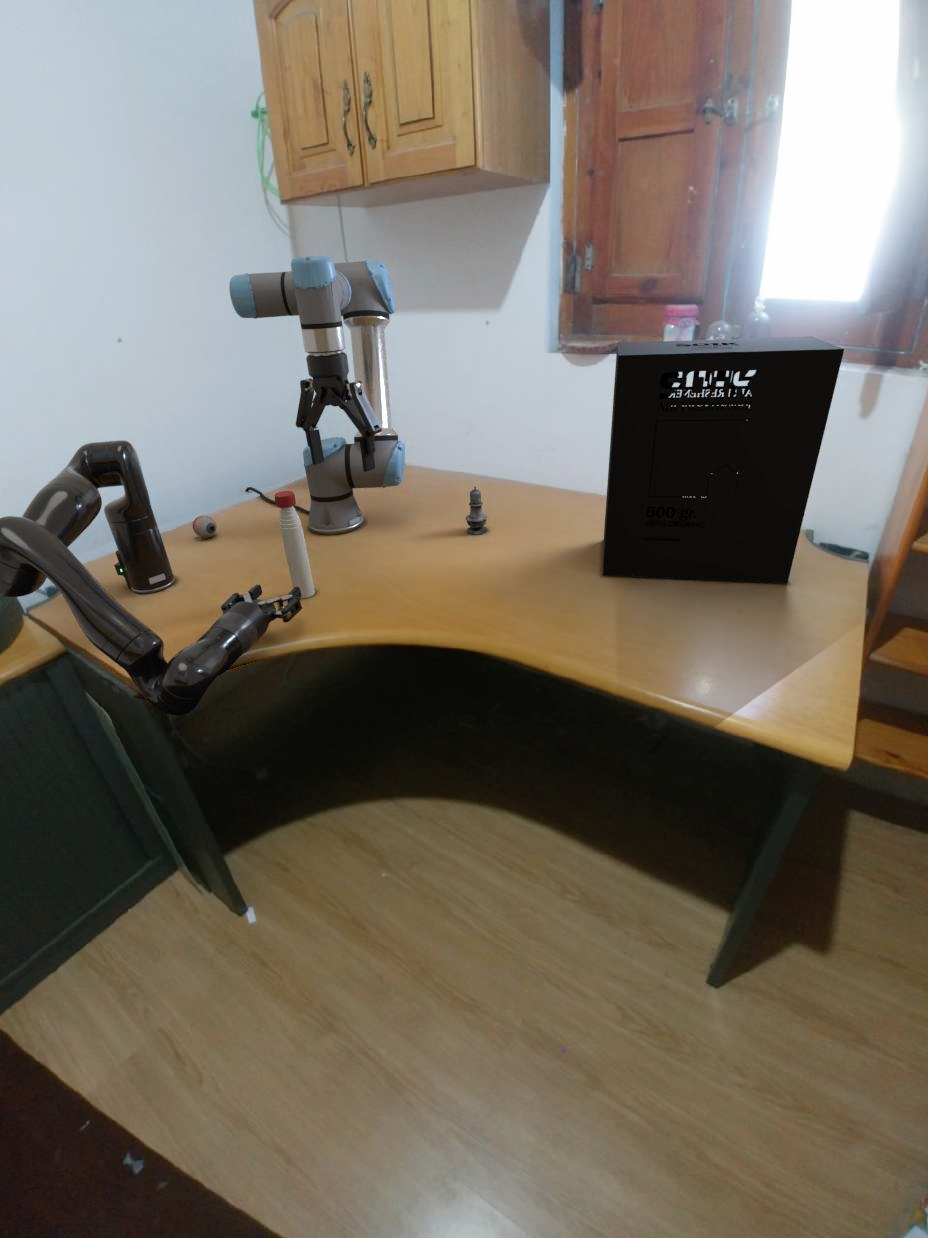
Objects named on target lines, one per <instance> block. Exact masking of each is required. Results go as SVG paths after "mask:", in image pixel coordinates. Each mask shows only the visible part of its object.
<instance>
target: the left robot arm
mask: <svg viewBox="0 0 928 1238" xmlns="http://www.w3.org/2000/svg"><path fill="white" fill-rule="evenodd" d="M139 458H140V457H139V455H138V453H137V450H136V449H135V447H134V445H133V444H132V443H131V442H130V441H128V440H126V439H125V440H123V439H120V440H119V439H118V440H105V441H95V442H88V443H86V444H83V445H81V446H80V447H79V448H78V449H77V450H76V451H75V453H74V454H73V455H72V458H71V459H70V460H69V462H68V463H67V465H66V466H65V467H64V468H63V469H62V470H60V472H59V473H58V474H57V475H56V476H55V477H54V478H53V479H51V480H50V481H49V482H48V483H47V484H45V485H44V486H43V487H42V488H41V489H40V490H39V491H38V492H37V493H36V494H35V496H34V497H33V498H32V500H31V501H30V503H29V504H28V506H27V507H26V509H25V511H24V512H23V514H22V516H17V515H8V516H7V515H6V516H2V517H0V597H5V598H19V597H25V596H28V595H31V594H33V593H35V592H36V591H38V590H39V589H41V587H42V586H43V585H44V584H45V582H46V581H47V579H48V580H49V581H50V582H51V583H52V584H53V585H54V586H55V587H56V589H57V590H58V591H59V593H60V594H61V596H62V597H63V599H64V601H65V602H66V603H67V605H68V607H69V609H70V611H71V612H72V614H73V617H74V618H75V621H76V622H77V624H78V626H79V627H80V629H81V631H82V632H83V634H84V635H85V637H86V638H87V639H88V640H89V642H90V643H91V644H92V645H93V646H94V647H95V648H96V649H98V651H100V652H101V653H102V654H104V655H105V656H106V657H108V658H109V659H110V660H112V661H113V662H114V663H115V664H117V665H118V666H119V667H120V668H122V669H123V670H124V671H125V672H126V673H127V674H128V676H129V677H130V679H131V681H132V682H133V683H134V684H135V686H136V687H137V688H138V690H139V691H140V692H141V693H142V694H143V696H144V697H145V698H146V700H148V702H149V703H151V705H152V706H153V707H154V708H156V709H157V710H159V711H161V712H163V713H165V714H168V715H171V716H185V715H187V714H189V713H191V712H192V711H193V710H194V709H195V708H196V707H197V706H198V705H199V703H200V701H201V700H202V698H203V696H204V695H205V694H206V692H207V690H208V689H209V688H210V686H211V685H212V683H213V682H214V681H215V679H217V677H218V676H221V675H223V674H224V673H226V672H227V671H228V670H229V669H230V668H231V667H232V666H233V665H234V664H235V663H236V662H237V661H238V660H239V659H240V658H241V657H242V656H243V655H245V654H246V653H247V652H248V651H250V649H251V648H252V647H253V646H254V645H255V644H256V643H257V642H258V641H259V640H260V639H261V637H262V636H263V635H265V633H266V632H267V630H268V628H269V625H270V623H271V622H272V621H275V620H276V619H282V622H283V623H285V624H286V623H289V622H290V621H292V619H294V617H295V616H296V615H297V614H299V613H300V612H301V611H302V610H303V605H302V602H301V599H302V598H301V597H302V595H301V590H300V588H299V587H294V588H293V587H292V589H291V590H290V591H289V592H288V593H287V595H284V596H282V597H280V596H274V597H272V598H269V599H260V597H261V596H262V594H263V589H262V585H261V584H255V585H254V586H252V587H251V588H249V590H247V591H244V592H242V594H240V592H234V593H233V594H232V595H231V596H229V598H227V599H226V600H225V601H224V602H223V603H222V604H221V605H220V608H221V613H222V615H221V616H220V617H219V618H218V619H216V620H215V621H214V623H213V624H211V626H210V628H209V629H208V630H207V631H205V632H204V633H203V634H202V635H201V636H199V638H198V639H197V640H196V641H195V642H193V643H192V644H189V645H188V646H186V647H184V648H183V649H181V650H180V651H178V652H177V653H176V654H174V656H172V658H171V659H169V661H167V660H166V659H165V655H164V650H165V644H164V641H163V639H162V638H161V636H159V635H158V634H157V633H156V632H154V631H153V630H152V629H151V628H150V627H149V626H147V625H146V624H145V623H144V622H143V621H141V620H140V619H138V618H137V617H136V616H135V615H133V614H132V613H131V612H129V610H127V609H126V608H125V607H124V606H122V604H120V602H118V601H117V600H116V599H115V598H114V597H113V596H112V595H111V594H110V593H109V592H108V591H107V590H106V589H105V587H104V586H102V584H101V583H100V582H99V580H97V579H96V577H94V575H93V574H92V573H91V572H90V571H89V569H87V567H85V566H84V564H83V563H82V562H81V561H80V559H78V558H77V556H76V555H74V553H73V552H72V551H71V550H70V549H69V548H68V547H70V546H71V545H72V544H73V543H74V542H75V541H76V540H77V539H78V538H79V537H80V536H81V535H82V534H83V533H84V532H85V531H86V530H87V528H89V527H90V525H91V524H92V523H93V522H94V521H95V519H96V518H97V517H98V515H99V513H100V512H101V509H102V504H103V500H102V496H101V493H100V491H99V489H102V488H112V487H123V491H124V494H123V495H122V496H120V497H118V498H116V499H114V500H112V501H109V502H108V503H107V504H105V506H104V507H103V512H104V516H105V518H106V521H107V523H108V526H109V529H110V532H111V534H112V538H113V540H114V541H115V546H116V548H117V550H116V551H115V556H116V558H117V561H118V562H117V563H115V564H113V566H114V569H115V572H116V574H117V576H122V577H123V578H124V580H125V582H126V585H127V588H128V590H129V591H130V590H131V591H132V592H133V593H135V594H141V595H143V594H144V595H145V594H151V593H157V592H160V591H163V590H166V589H167V588H169V587H171V586H172V585H173V584H175V583H176V577H175V575H174V573H173V570H172V566H171V563H170V559H169V557H168V554H167V551H166V548H165V545H164V541H163V537H162V535H161V532H160V529H159V526H158V522H157V520H156V516H155V514H154V510H153V507H152V504H151V500H150V495H149V491H148V488H147V484H146V481H145V477H144V472H143V470H142V469H143V468H142V465H141V462H140V459H139ZM285 602H286V605H284V603H285ZM275 604H277V609H276V606H275Z"/></svg>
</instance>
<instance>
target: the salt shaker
mask: <svg viewBox="0 0 928 1238" xmlns="http://www.w3.org/2000/svg"><path fill="white" fill-rule="evenodd" d="M468 505H469V510H470V511H469V514H468V515H466V516H465V517H464V518H465V521H466V524H467V525H468V528H467V529H466V532H467V533H468V534H472V535H481V534H484V533H486V532H487V531H488V528H487V527H486V526H485V525H486V523H487V519H488V518H489V517H488V515H487V514H484V513H483V505H484V502H482V492H481V491H480V489H477V486H473V489H472V490H470V491H469V503H468Z"/></svg>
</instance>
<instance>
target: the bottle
mask: <svg viewBox="0 0 928 1238" xmlns="http://www.w3.org/2000/svg"><path fill="white" fill-rule="evenodd" d="M279 530H280V534H281V539H282V543H283V549H284V552H285V557H286V562H287V566H288V571H289V575H290V581H291V585H292V589H293V588H294V587H299V588H300V590H301V595H302V597H301V598H300V599H308V598H310V597H313V596H314V595H315V594H316V590H315V586H314V585H315V584H314V580H313V575H312V571H311V566H310V561H309V560H310V559H309V556H308V550H307V544H306V540H305V535H304V529H303V525H302V522H301V519H300V517H299V514H298V511H296V509H295V508H294V507H293V506H292V507H288V508H279Z"/></svg>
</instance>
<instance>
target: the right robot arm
mask: <svg viewBox="0 0 928 1238" xmlns="http://www.w3.org/2000/svg"><path fill="white" fill-rule="evenodd" d="M290 269H291V270H290V271H289V270H288V271H277V272H274V271H273V272H254V273H248V272H247V273H242V274H235V275H233V276H232V277H231V278H230V280H229V283H228V284H229V287H228V288H229V289H228V291H229V297H230V301H231V305H232V307H233V309H234V311H235V313H236V315H238V316H239V318H242V319H264V318H275V317H276V318H277V317H278V318H279V317H293V316H298V318H299V321H300V322H299V323H300V329H301V336H302V343H303V347H304V352H305V353H306V354H308V355H307V356H306V358H305V360H306V365H307V371H308V375H309V377H310V378H305V379H301V380H300V382H299V386H300V395H299V402H298V406H297V407H298V408H297V412H296V419H295V426H296V428H298V429H302V430H303V432H304V433H305V438H306V444H307V445H306V446H305V447H304V448H303V450H302V457H303V467H304V471H305V477H306V481H307V486H308V492H309V498H310V507H309V510H307V509H305V508H303V507H301V506H299V505H296V504H295V505H294V506H293V507H294V508H295V510H298V511H300V512H302V513H304V514H306V515H308V528H309V529H308V530H310V531H311V532H312V533H314V534H317V535H323V536H324V535H325V536H327V535H329V536H331V535H339V534H340V535H341V534H345V533H350V532H353V531H355V530H357V529H359V528H361V527H362V526H363V525H364V523H365V519H364V514H363V512H362V510H361V508H360V505H359V504H358V501H357V500H356V498H355V495H354V489H373V488H376V489H377V488H383V489H385V488H389V487H397V486H399V485H401V484H402V481H403V478H404V475H405V474H404V472H405V466H406V445H405V442H404V441H402V440H399V434H398V433H397V431H395V430H394V429H393V427H392V414H391V413H392V411H391V400H390V388H389V375H388V373H389V372H388V360H387V350H386V348H387V347H386V333H385V330H386V328H387V327H388V326H389V324H390V322H391V318H390V315H393V314H395V313H396V302H395V297H394V291H393V287H392V283H391V278H390V275H389V272H388V269H387V266H386V265H385V263H383V262H382V261H378V260H376V261H375V260H365V259H364V260H361V261H346V262H334V259H333V258H332V256H330V255H305V256H295V257H293V258H292V259H291V261H290ZM343 324H344V325H345V327H347V329H349V333H350V343H351V354H352V365H353V378H354V381H353V382H350V381H349V378H348V376H349V372H350V367H349V360H348V354H346V352H344V351H345V350H346V340H345V333H344V325H343ZM326 406H327V407H328V406H332V407H338V408H339V409H340V410H342V411H344V413H345V414H346V416H347V417H348V418H349V420H350V421H351V422H352V424H353V425H354V426H355V428H356V429H357V431H356V433H355V434H354V435H353V443H347V440H346V439H345V437H342V436H341V437H338V436H335V437H329V438H325V439H324V438H323V439H321V433H320V429H318V428H319V426H317V425H318V423H319V421H320V419H321V417H322V415H323V413H324V410H325V408H326ZM249 491H252V492H254V493H256V494H258V495H259V496H260V497H261V498H262V499H263V500H264V501H266V502H268V503H271V504H273V505H276V501H275V500H274V499H271V498H269V497H268V496H267V497H266V496H265V495H264V492H262V491H260V490H259V489H256V488H254V487H252V486H248V487H246V488H245V490H244V492H246V493H247V492H249Z"/></svg>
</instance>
